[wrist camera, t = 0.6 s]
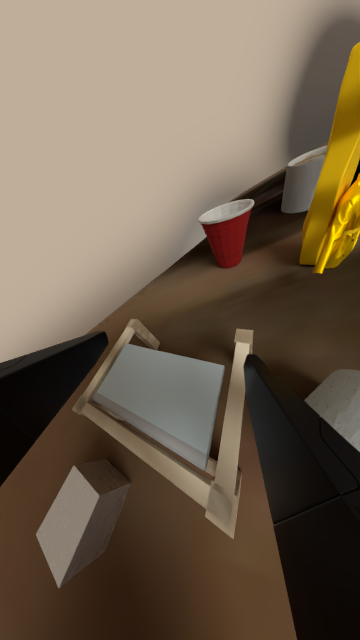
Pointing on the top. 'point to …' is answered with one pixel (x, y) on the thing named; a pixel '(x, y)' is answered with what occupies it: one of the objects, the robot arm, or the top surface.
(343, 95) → the figure statuette
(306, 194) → the coffee mug
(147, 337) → the birch frame
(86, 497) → the steel cube
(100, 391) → the flap
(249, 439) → the top surface
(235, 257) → the plastic cup
